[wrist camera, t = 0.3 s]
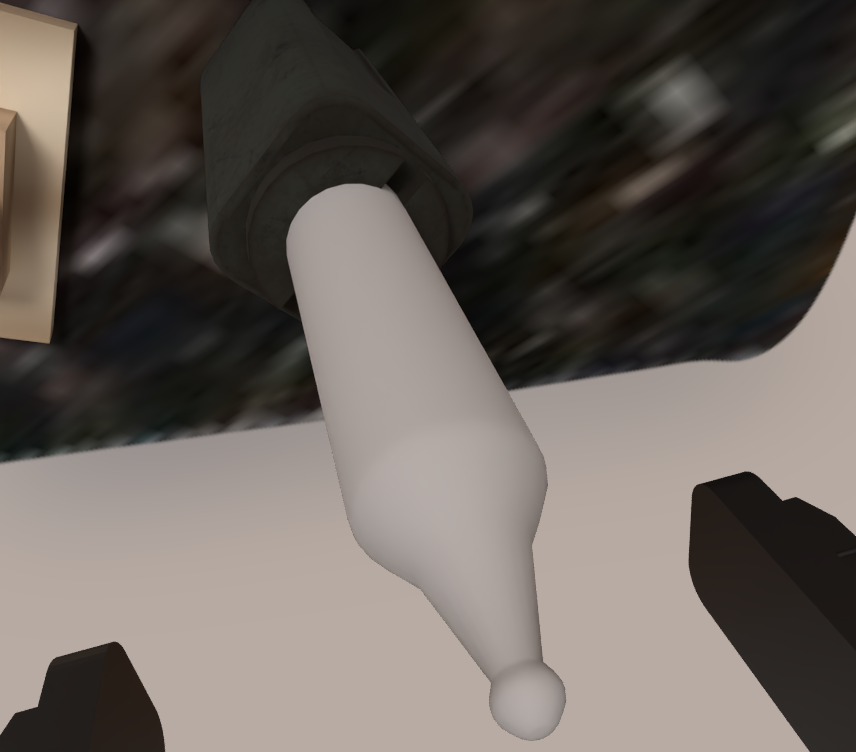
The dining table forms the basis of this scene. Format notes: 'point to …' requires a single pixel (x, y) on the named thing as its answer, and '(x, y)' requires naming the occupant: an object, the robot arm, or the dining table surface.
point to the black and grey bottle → (382, 331)
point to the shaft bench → (32, 165)
